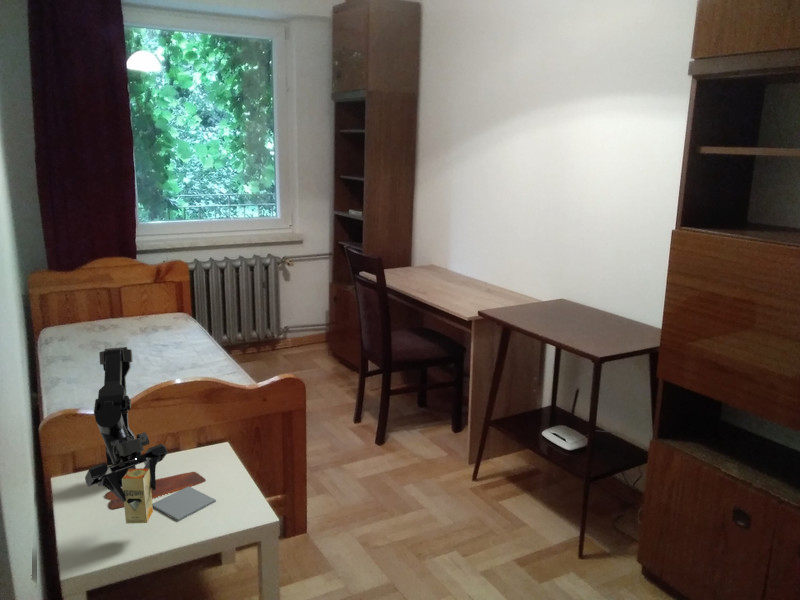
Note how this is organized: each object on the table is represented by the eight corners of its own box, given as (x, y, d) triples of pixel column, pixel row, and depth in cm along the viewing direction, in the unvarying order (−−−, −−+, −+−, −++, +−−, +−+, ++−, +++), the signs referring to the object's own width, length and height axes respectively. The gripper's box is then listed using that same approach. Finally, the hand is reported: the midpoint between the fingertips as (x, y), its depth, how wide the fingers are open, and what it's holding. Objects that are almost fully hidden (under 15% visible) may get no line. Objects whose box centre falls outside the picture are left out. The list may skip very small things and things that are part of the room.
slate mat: (151, 506, 171) (151, 504, 171) (188, 488, 180) (188, 486, 180) (178, 521, 164) (178, 519, 164) (215, 501, 174) (215, 499, 173)
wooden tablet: (111, 513, 168) (110, 507, 168) (103, 497, 176) (102, 491, 176) (209, 485, 184) (208, 479, 183) (197, 470, 191) (197, 465, 191)
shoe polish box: (132, 512, 158) (128, 468, 155) (153, 511, 158) (149, 468, 155) (125, 523, 153) (121, 478, 150) (146, 522, 153) (143, 478, 151)
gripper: (84, 437, 146) (108, 498, 141) (161, 414, 159) (185, 469, 155) (75, 456, 153) (97, 515, 148) (149, 433, 166) (172, 486, 162)
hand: (140, 495), depth 153 cm, fingers closed on shoe polish box, 7 cm apart
